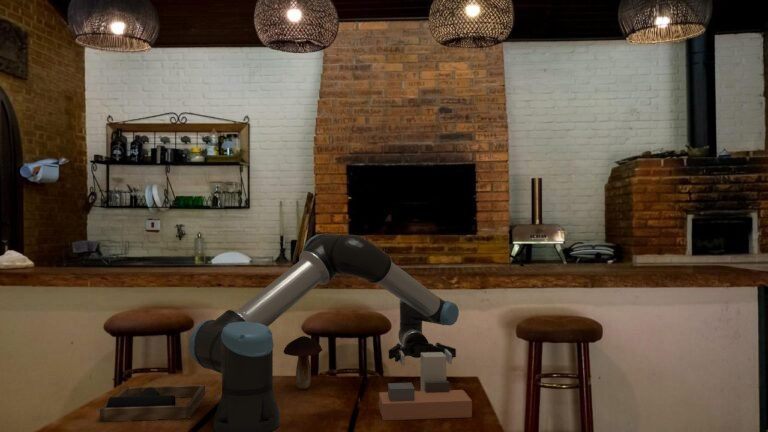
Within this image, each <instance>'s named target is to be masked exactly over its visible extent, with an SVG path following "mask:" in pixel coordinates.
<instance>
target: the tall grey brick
mask: <svg viewBox="0 0 768 432" xmlns="http://www.w3.org/2000/svg"><path fill="white" fill-rule="evenodd" d="M425 381H447V361H446V356H445V354H444V353H443V352H427V353H421V357H420V391H425Z"/></svg>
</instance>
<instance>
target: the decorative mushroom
mask: <svg viewBox="0 0 768 432" xmlns="http://www.w3.org/2000/svg"><path fill="white" fill-rule="evenodd" d="M322 351H323V348H322V346H321V345H320V343H319V342H318V341H316V340H315V339H313V338H311V337H309V336H305V335H303V336H302V335H301V336H299V337H297V338H295V339H293V340H292V341H290V342H289V343H287V344H286V346H285V348H284V350H283V351H282V352H283V354H284V355H287V356H292V357H297V364H296V370H295V384H296V385H295V386H296V387H297V388H298V389H300V390H306V389H308V388H309V387H310V386H311V383H312V381H311V379H312V375H311V372H312V371H311V363H310V357H311V356H316V355H318V354H320V353H321V352H322Z"/></svg>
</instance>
